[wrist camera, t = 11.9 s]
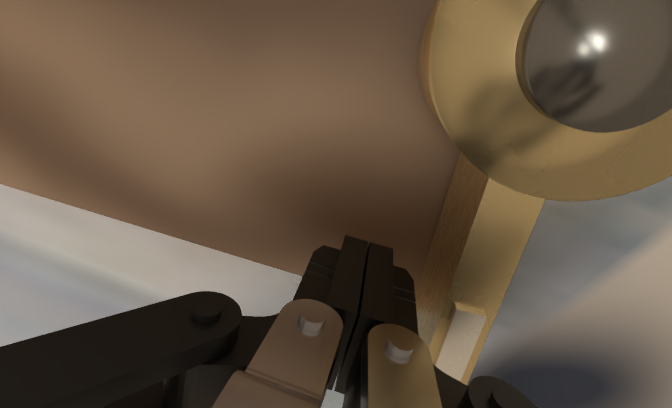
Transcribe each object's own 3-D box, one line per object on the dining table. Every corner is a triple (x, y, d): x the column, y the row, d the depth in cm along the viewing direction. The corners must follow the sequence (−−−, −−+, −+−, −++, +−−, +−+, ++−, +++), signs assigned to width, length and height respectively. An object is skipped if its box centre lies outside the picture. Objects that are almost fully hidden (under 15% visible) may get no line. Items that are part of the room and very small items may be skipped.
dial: (445, -68, 10) (500, -220, 4) (647, -33, 9) (966, -157, 4) (355, 299, 14) (330, 438, 9) (491, 332, 14) (549, 500, 8)
